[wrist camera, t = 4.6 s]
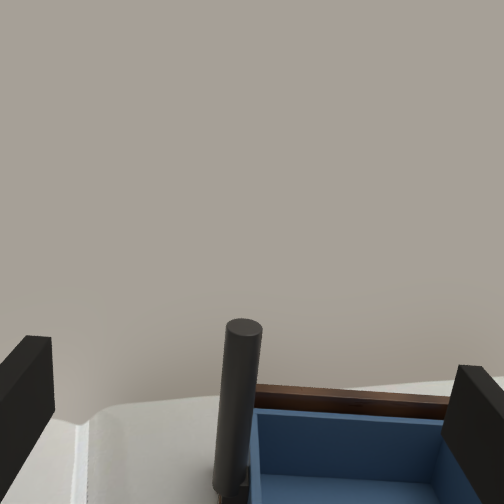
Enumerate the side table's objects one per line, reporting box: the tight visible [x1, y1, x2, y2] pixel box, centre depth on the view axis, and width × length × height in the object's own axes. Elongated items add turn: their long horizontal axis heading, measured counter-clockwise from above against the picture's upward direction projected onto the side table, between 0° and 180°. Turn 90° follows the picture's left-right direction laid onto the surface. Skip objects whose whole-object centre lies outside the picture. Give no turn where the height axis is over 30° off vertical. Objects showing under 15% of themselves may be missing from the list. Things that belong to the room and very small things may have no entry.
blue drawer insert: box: [213, 318, 482, 504], centre depth 28 cm, size 17×11×15 cm, turn 91°
